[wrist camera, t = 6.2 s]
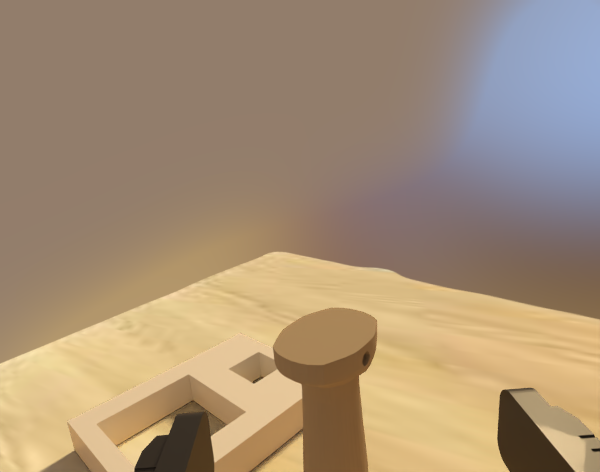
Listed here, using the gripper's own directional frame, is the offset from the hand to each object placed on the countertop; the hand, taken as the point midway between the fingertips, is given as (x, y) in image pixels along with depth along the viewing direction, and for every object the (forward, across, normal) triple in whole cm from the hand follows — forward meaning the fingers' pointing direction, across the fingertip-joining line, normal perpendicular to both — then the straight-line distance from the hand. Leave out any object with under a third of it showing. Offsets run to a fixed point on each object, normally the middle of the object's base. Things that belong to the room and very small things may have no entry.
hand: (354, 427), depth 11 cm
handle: (+11, 0, +18) cm, 22 cm away
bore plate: (+23, +10, +18) cm, 31 cm away
